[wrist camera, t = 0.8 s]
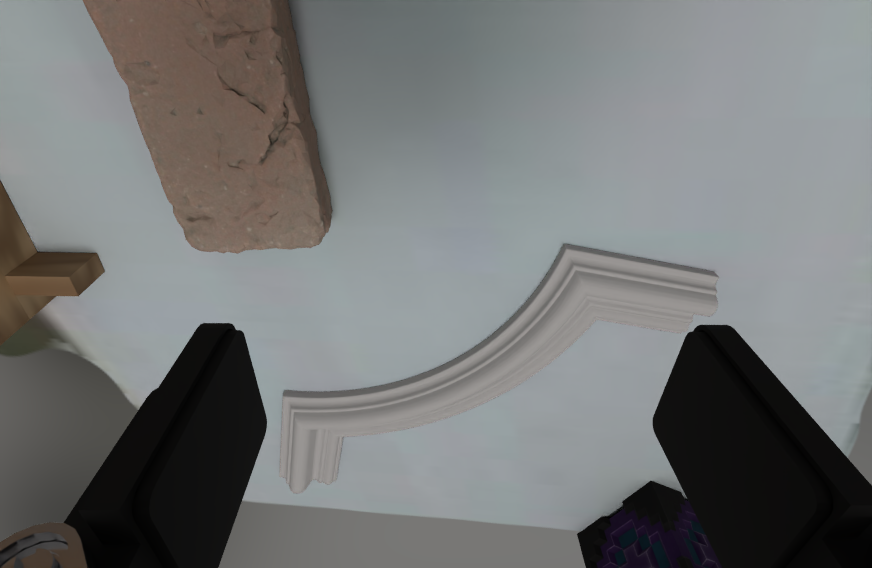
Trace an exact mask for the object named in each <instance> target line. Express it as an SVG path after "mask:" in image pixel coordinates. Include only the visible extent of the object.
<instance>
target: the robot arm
mask: <svg viewBox="0 0 872 568" xmlns="http://www.w3.org/2000/svg"><path fill="white" fill-rule="evenodd" d="M266 428H267V418H266V414H265V410H264V406H263V403H262V399H261V395H260V392H259V388H258V384H257V381H256V377H255V373H254V369H253V366H252V362H251V358H250V355H249V351H248V347H247V343H246V340H245V336H244V333H243V332H242V331H240V330H236V329H235V327H234V326H233V324H230V323H203V324H201V325H200V326H199V327H198V328H197V329H196V331H195V332H194V334H193V336H192V337H191V339H190V340H189V342H188V343H187V345H186V346H185V348H184V349H183V351H182V352H181V354H180V355H179V357H178V358H177V360H176V362H175V363H174V365H173V366H172V368H171V369H170V371H169V372H168V374H167V375H166V377H165V378H164V380H163V381H162V383H161V385H160V386H159V388H157V389H155V390H154V391H152V392H151V393H150V395H149V396H148V397H147V398H146V400H145V401H144V403H143V404H142V406H141V407H140V409H139V410H138V412H137V413H136V415H135V417H134V418H133V419H132V421H131V422H130V424H129V426H128V427H127V429H126V430H125V431H124V433H123V434H122V436H121V438H120V439H119V440H118V442H117V443H116V445H115V446H114V448H113V450H112V451H111V452H110V454H109V455H108V457H107V459H106V460H105V462H104V463H103V465H102V466H101V467H100V469H99V470H98V472H97V473H96V475H95V476H94V478H93V480H92V481H91V483H90V484H89V486H88V487H87V489H86V490H85V492H84V493H83V495H82V496H81V498H80V499H79V501H78V502H77V504H76V505H75V507H74V508H73V510H72V511H71V513H70V514H69V516H68V517H67V519H66V520H65V522H64V523H56V522H48V523H43V524H38V525H34V526H31V527H28V528H26V529H24V530H21V531H19V532H16V533H14V534H13V535H11V536H9V537H8V538H6V539H5V540H3V541H1V542H0V568H218V567H219V564H220V561H221V558H222V555H223V552H224V550H225V547H226V544H227V541H228V538H229V535H230V533H231V530H232V527H233V524H234V521H235V518H236V516H237V513H238V510H239V507H240V504H241V502H242V499H243V496H244V493H245V490H246V487H247V485H248V482H249V479H250V476H251V473H252V470H253V468H254V465H255V462H256V459H257V456H258V453H259V451H260V448H261V445H262V442H263V439H264V436H265V433H266ZM653 429H654V432H655V435H656V437H657V439H658V441H659V443H660V445H661V447H662V449H663V451H664V453H665V455H666V457H667V459H668V461H669V463H670V465H671V467H672V469H673V471H674V473H675V475H676V477H677V479H678V481H679V483H680V485H681V487H682V489H683V491H684V493H685V495H686V497H687V499H688V501H689V502H690V504H691V506H692V508H693V510H694V512H695V514H696V516H697V518H698V520H699V522H700V524H701V526H702V528H703V530H704V532H705V534H706V536H707V538H708V540H709V542H710V544H711V546H712V548H713V550H714V552H715V554H716V556H717V558H718V560H719V562H720V564H721V566H722V568H872V486H871V484H870V483H869V482H868V481H867V480H866V479H865V478H864V476H863V475H862V474H861V473H860V472H859V471H858V470H857V469H856V467H855V466H854V465H853V464H852V463H851V462H850V461H849V459H848V458H847V457H846V456H845V455H844V454H843V452H842V451H841V450H840V449H839V448H838V447H837V446H836V444H835V443H834V442H833V441H832V440H831V439H830V438H829V437H828V435H827V434H826V433H825V432H824V431H823V430H822V429H821V427H820V426H819V425H818V424H817V423H816V422H815V421H814V419H813V418H812V417H811V416H810V415H809V414H808V413H807V411H806V410H805V409H804V408H803V407H802V406H801V405H800V403H799V402H798V401H797V400H796V399H795V398H794V397H793V395H792V394H791V393H790V392H789V391H788V390H787V389H786V387H785V386H784V385H783V384H782V383H781V382H780V381H779V379H778V378H777V377H776V376H775V375H774V374H773V373H772V371H771V370H770V369H769V368H768V367H767V366H766V365H765V364H764V362H763V361H762V360H761V359H760V358H759V357H758V356H757V354H756V353H755V352H754V351H753V350H752V349H751V348H750V346H749V345H748V344H747V343H746V342H745V341H744V340H743V338H742V337H741V336H740V335H739V334H738V333H737V332H736V330H735V329H734V328H732V327H731V326H728V325H699V326H697V327H696V328H695V329H694V331H693V332H689V333H688V334H687V335H686V337H685V340H684V342H683V345H682V347H681V350H680V352H679V355H678V357H677V359H676V362H675V364H674V367H673V369H672V372H671V374H670V377H669V379H668V382H667V384H666V387H665V389H664V392H663V394H662V396H661V399H660V401H659V404H658V406H657V409H656V411H655V414H654V417H653Z"/></svg>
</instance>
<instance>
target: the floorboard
mask: <svg viewBox="0 0 872 568" xmlns="http://www.w3.org/2000/svg"><path fill="white" fill-rule="evenodd" d="M104 272H105V271H104V268H103V266H102V264H101V262H100V259H99V257H98V255H97V253H58V252H37V251H36V249H35V247H34V245H33V243H32V241H31V239H30V237H29V235H28V233H27V231H26V229H25V227H24V226H23V224H22V222H21V220H20V218H19V216H18V214H17V212H16V210H15V208H14V206H13V204H12V203H11V201H10V199H9V197H8V195H7V193H6V191H5V189H4V187H3V185H2V183H1V181H0V345H1V344H3V343H4V342H5V341H6V340H7V339H8V338H9V337H10V336H12V335H13V334H14V333H15V332H16V331H17V330H18V329H20V328H21V327H22V326H23V325H24V324H25V323H26V322H27V321H29V320H30V319H31V318H32V317H33V316H34V315H35V314H37V313H38V312H39V311H40V310H41V309H42V308H43V307H45V306H46V305H47V304H48V303H49V302H50V301H51V300H52V299H54V298H55V297H56V296H79V295H80V294H81V293H82V292H83V291H85V290H86V289H87V288H88V287H89V286H90V285H91V284H92V283H93V282H94V281H95V280H96V279H97V278H98V277H99V276H101V275H102V274H103V273H104Z"/></svg>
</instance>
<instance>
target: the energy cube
mask: <svg viewBox="0 0 872 568" xmlns="http://www.w3.org/2000/svg"><path fill="white" fill-rule="evenodd" d="M623 506H624V509H622V510H621V511H620V512H618V513H617V514H616V515H614V516H613V517H611V518H610V519H609V518H606V517H603V516H602V517H601V518H599V519H598V520H596V521H595V522H594V523H592V524H591V525H590V526H588V527H587V528H585V529H584V530H583V531H580V532H579V533H578V534H577V535H578V539H579V543H580V546H581V551H582V555H583V558H584V562H585V566H586V568H722V566H721V564H720V562H719V560H718V558H717V556H716V554H715V552H714V550H713V548H712V546H711V544H710V542H709V540H708V538H707V536H706V534H705V532H704V530H703V528H702V526H701V524H700V522H699V520H698V518H697V516H696V514H695V512H694V510H693V508H692V506H691V504H690V502H689V501H686V500H684V497H683V495H682V493H681V492H680V491H677V490H674V489H672V488H669V487H666V486H664V485H661V484H658V483H656V482H653V481H650V482H649V483H647V484H646V485H644V486H643V487H642V488H640V489H639V490H638V491H636V492H635V493H633V494H632V495H631V496H629V497H628V498H627V499H625V500H624V501H623Z"/></svg>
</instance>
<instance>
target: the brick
mask: <svg viewBox="0 0 872 568" xmlns="http://www.w3.org/2000/svg"><path fill="white" fill-rule="evenodd" d="M83 2H84V4H85V6H86V8H87V11H88V13H89V14H90V16H91V18H92V20H93V22H94V24H95V26H96V28H97V30H98V31H99V33H100V35H101V37H102V39H103V41H104V43H105V45H106V47H107V49H108V51H109V52H110V54H111V55H112V57H113V60H114V64H115V67H116V69H117V71H118V72H119V74H120V76H121V78H122V79H123V80H124V81H125V83H126V84H127V85H128V89H129V94H130V101H131V104H132V107H133V109H134V112H135V115H136V118H137V121H138V124H139V126H140V129H141V132H142V135H143V137H144V140H145V142H146V145H147V147H148V149H149V151H150V154H151V157H152V160H153V162H154V165H155V168H156V171H157V173H158V175H159V177H160V180H161V183H162V186H163V189H164V191H165V194H166V196H167V199H168V200H169V202H170V203H171V204H172V205H173V213H174V215H175V217H176V219H177V221H178V223H179V224H180V225H181V227H182V228H183V230H184V234H185V237H186V240H187V241H188V242H189V244H190V245H191V246H192V247H193V248H195V249H198V250H200V251H206V252H214V251H218V252H221V253H225V252H232V253H240V252H242V251H245V250H254V249H257V250H264V249H269V248H278V249H295V248H311V247H313V246H316V245H319V244H320V243H321V241H322V238H323V237H324V236H325V234H326V233H327V232H328V231H329V228H330V224H331V213H332V208H331V205H330V193H329V190H328V186H327V182H326V178H325V175H324V172H323V169H322V167H321V165H320V160H319V154H318V145H317V132H316V130H315V127H314V124H313V121H312V119H311V116H310V109H309V96H308V92H307V89H306V85H305V79H304V74H303V69H302V67H301V63H300V54H299V50H298V45H297V40H296V34H295V30H294V29H293V23H292V17H291V13H290V9H289V4H288V0H83Z"/></svg>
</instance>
